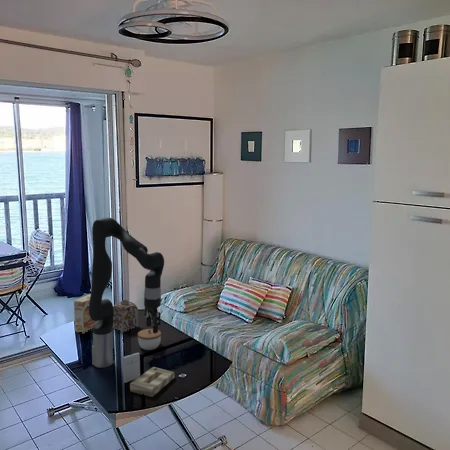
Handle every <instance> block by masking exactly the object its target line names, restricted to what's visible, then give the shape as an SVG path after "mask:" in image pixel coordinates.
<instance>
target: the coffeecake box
mask: <svg viewBox="0 0 450 450" xmlns="http://www.w3.org/2000/svg"><path fill="white" fill-rule="evenodd" d="M90 296H91V293H89V294H87V295H84V296H82V297H79V298H77V299H75V300H73V311H74V312H73V313H74V317H73V318H74V332H75V331H76V333H79V332H82V333H81V334H85V332H86V333H87V332H89V331H91V330H93V329H92V328H93V327H94V325H96V324H97V323H98V321H93V320H92V319H91V318H90V315H89V303H90ZM90 329H91V330H90ZM88 330H89V331H88Z"/></svg>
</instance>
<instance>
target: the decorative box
mask: <svg viewBox="0 0 450 450" xmlns="http://www.w3.org/2000/svg"><path fill="white" fill-rule="evenodd" d="M161 339H162V331H160V330H159V329H158V333H153V328H146V329H145V328H144V329H142V330H140V331H138V332H137V341H138V345H139V346H140V348H141V349H142V350H145V351H152V350H155V349H157V348H158V347H159V346H160V344H161V342H162V341H161Z"/></svg>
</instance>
